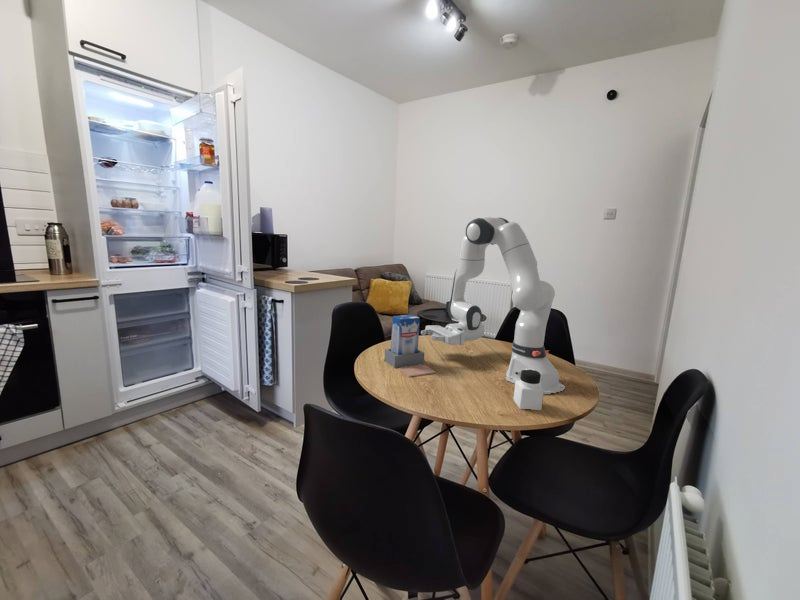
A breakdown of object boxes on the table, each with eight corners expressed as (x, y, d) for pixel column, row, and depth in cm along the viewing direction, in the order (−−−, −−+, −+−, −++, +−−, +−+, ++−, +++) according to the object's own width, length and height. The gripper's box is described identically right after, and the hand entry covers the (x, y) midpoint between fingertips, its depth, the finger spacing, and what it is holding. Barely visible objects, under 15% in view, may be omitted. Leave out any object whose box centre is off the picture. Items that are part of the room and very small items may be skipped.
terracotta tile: (435, 373, 139) (435, 371, 139) (408, 377, 133) (409, 375, 133) (423, 365, 147) (423, 364, 147) (398, 369, 141) (398, 367, 141)
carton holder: (423, 364, 149) (424, 353, 148) (394, 368, 142) (395, 356, 141) (412, 356, 157) (412, 346, 156) (384, 360, 151) (384, 349, 150)
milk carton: (409, 358, 155) (411, 314, 152) (417, 362, 150) (420, 317, 147) (390, 361, 150) (392, 316, 146) (397, 366, 145) (400, 319, 141)
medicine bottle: (541, 410, 112) (546, 375, 110) (519, 409, 112) (523, 374, 110) (533, 400, 119) (538, 367, 117) (512, 399, 119) (516, 366, 117)
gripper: (440, 321, 168) (415, 323, 161) (467, 332, 150) (440, 334, 144) (439, 333, 169) (415, 336, 163) (465, 346, 151) (439, 349, 145)
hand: (427, 335), depth 153 cm, fingers open, 8 cm apart
